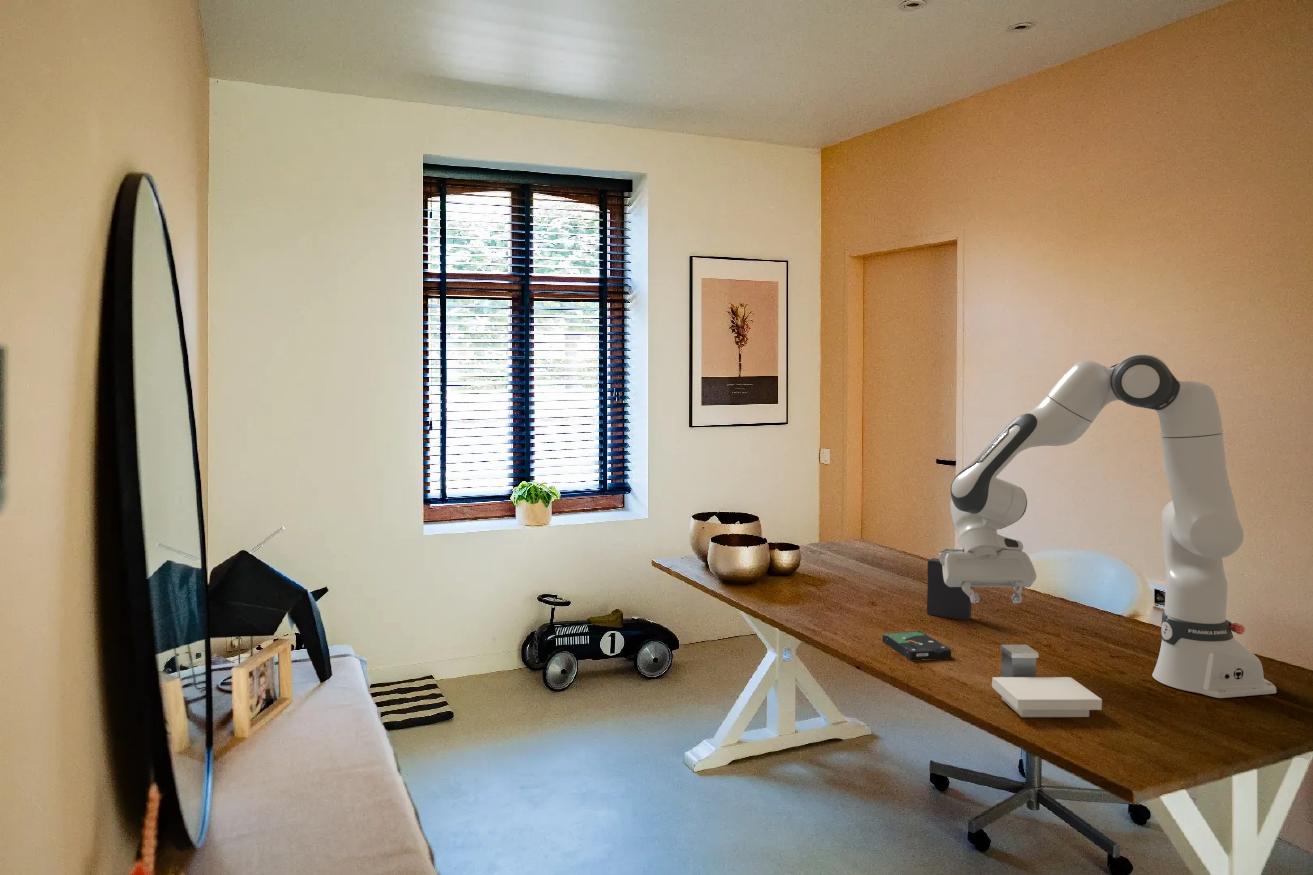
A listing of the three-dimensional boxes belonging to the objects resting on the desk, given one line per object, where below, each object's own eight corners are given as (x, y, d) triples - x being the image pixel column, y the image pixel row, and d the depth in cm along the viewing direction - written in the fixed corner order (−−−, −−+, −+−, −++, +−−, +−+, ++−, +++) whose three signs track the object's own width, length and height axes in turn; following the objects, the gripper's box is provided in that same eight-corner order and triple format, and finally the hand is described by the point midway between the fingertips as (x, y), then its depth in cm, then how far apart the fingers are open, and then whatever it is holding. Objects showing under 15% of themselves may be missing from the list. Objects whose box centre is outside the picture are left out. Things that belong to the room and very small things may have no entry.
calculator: (971, 617, 234) (973, 562, 233) (967, 621, 231) (969, 565, 230) (930, 611, 240) (932, 557, 239) (925, 614, 237) (927, 560, 235)
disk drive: (952, 661, 201) (920, 640, 215) (952, 649, 201) (920, 629, 215) (910, 663, 199) (881, 643, 213) (911, 651, 199) (881, 631, 213)
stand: (1069, 696, 178) (1070, 677, 177) (1100, 719, 166) (1101, 699, 165) (991, 696, 177) (992, 677, 177) (1017, 720, 165) (1017, 699, 165)
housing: (1025, 681, 186) (1026, 644, 186) (1037, 690, 181) (1038, 653, 180) (999, 681, 186) (1000, 644, 186) (1010, 691, 181) (1011, 653, 180)
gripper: (940, 541, 201) (954, 594, 192) (1028, 541, 201) (1046, 594, 192) (933, 556, 206) (946, 608, 197) (1019, 556, 206) (1036, 609, 197)
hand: (996, 601), depth 194 cm, fingers open, 8 cm apart
